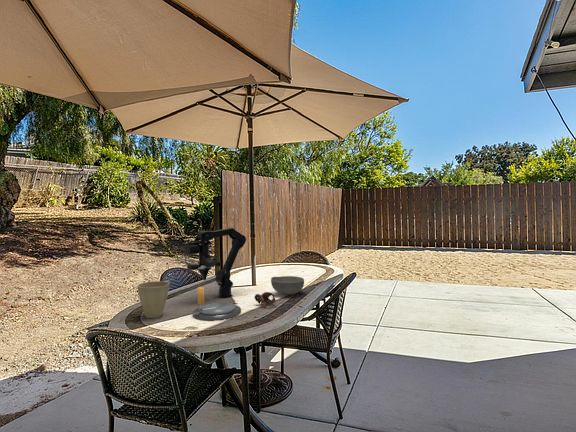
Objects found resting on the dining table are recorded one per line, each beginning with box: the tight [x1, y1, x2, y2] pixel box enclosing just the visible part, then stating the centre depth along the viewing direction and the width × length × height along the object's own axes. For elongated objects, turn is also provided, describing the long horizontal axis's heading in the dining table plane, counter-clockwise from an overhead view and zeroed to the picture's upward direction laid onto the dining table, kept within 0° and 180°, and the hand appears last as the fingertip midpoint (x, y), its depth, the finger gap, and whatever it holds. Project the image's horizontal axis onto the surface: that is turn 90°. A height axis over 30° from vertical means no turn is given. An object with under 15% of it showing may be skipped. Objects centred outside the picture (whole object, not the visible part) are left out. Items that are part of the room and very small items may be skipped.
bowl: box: [270, 275, 305, 296], centre depth 214 cm, size 20×20×10 cm
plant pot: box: [136, 280, 170, 319], centre depth 175 cm, size 15×15×16 cm
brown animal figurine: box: [253, 291, 276, 309], centre depth 190 cm, size 12×10×8 cm
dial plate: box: [192, 304, 242, 322], centre depth 178 cm, size 24×24×2 cm
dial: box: [196, 286, 235, 316], centre depth 178 cm, size 19×18×12 cm
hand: (204, 280), depth 201 cm, fingers closed
